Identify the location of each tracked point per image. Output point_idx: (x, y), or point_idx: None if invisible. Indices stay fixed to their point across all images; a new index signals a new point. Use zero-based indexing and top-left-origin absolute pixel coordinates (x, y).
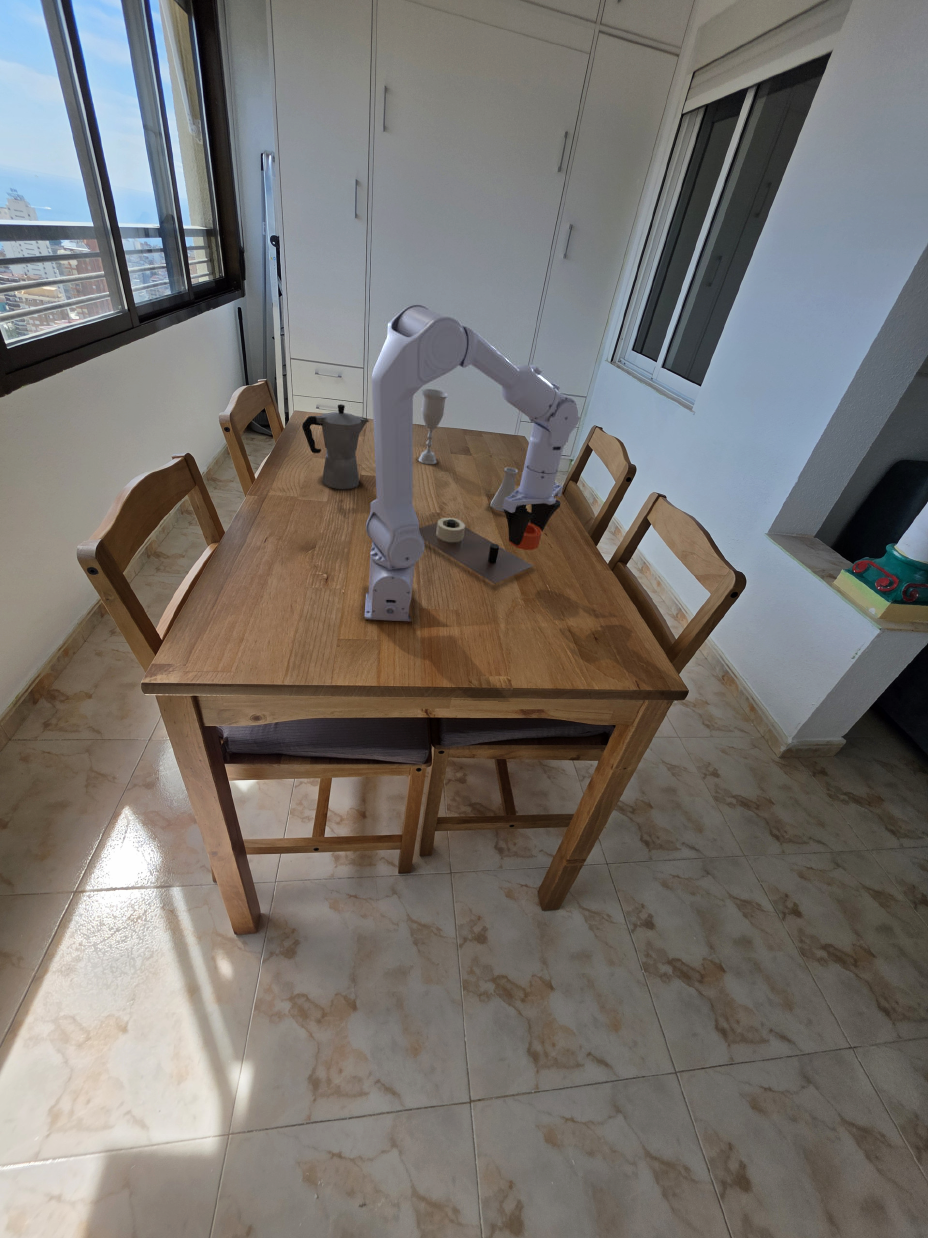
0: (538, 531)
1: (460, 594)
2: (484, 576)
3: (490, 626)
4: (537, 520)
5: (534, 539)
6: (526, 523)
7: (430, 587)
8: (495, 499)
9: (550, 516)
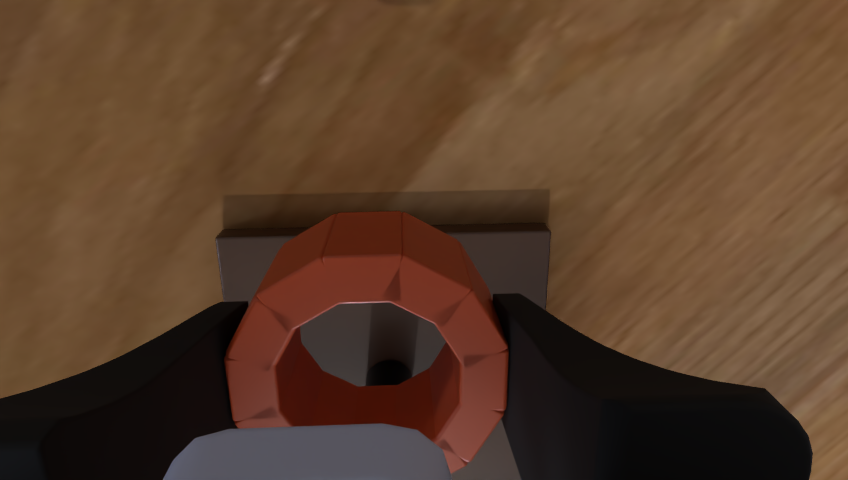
0: (303, 303)
1: (713, 270)
2: (541, 301)
3: (835, 3)
4: (205, 420)
5: (412, 245)
6: (609, 369)
7: (766, 372)
8: None
9: (89, 375)
